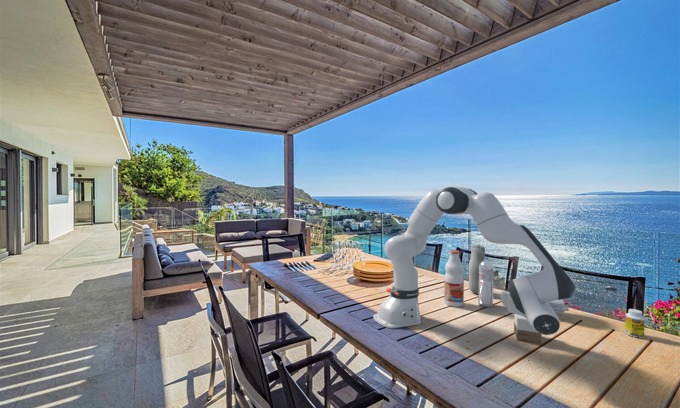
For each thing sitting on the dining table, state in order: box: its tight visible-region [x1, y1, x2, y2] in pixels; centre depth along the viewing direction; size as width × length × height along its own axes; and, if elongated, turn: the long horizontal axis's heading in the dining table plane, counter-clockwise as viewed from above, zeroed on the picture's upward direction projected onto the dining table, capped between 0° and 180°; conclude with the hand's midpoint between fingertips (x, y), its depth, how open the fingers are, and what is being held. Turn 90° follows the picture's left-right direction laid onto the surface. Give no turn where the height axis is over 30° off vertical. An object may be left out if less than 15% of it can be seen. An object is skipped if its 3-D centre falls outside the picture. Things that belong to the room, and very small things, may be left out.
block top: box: [514, 314, 538, 333], centre depth 117 cm, size 8×8×4 cm
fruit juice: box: [443, 249, 465, 308], centre depth 153 cm, size 9×9×28 cm
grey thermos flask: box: [468, 244, 486, 295], centre depth 169 cm, size 10×10×28 cm
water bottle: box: [477, 256, 495, 308], centre depth 151 cm, size 7×7×25 cm
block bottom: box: [513, 321, 543, 345], centre depth 117 cm, size 8×8×4 cm
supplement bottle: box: [624, 308, 646, 339], centre depth 119 cm, size 6×6×10 cm
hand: (527, 294), depth 118 cm, fingers closed on tall block, 5 cm apart
